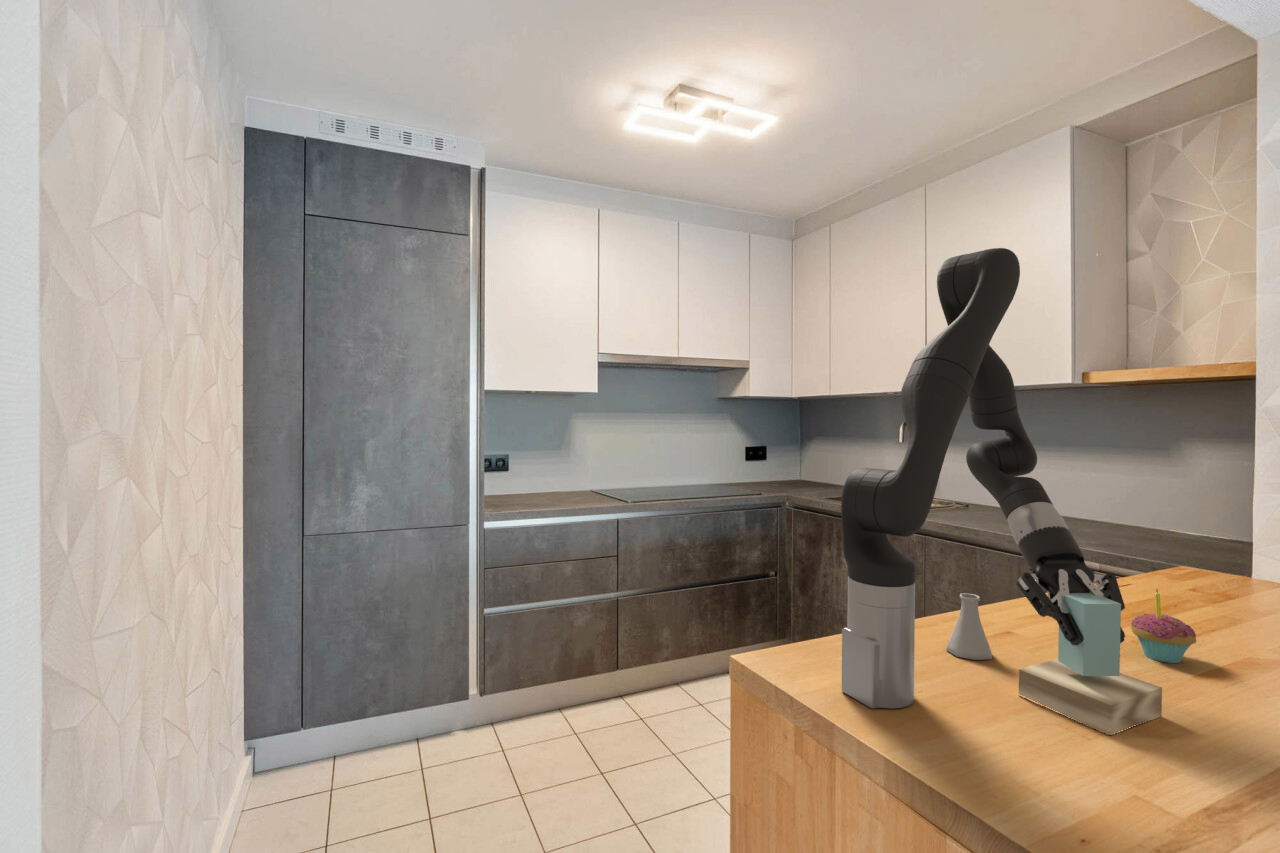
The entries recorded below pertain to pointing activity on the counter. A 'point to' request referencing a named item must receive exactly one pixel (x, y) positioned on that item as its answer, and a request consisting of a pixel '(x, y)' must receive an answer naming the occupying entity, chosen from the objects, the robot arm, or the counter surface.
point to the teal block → (1093, 636)
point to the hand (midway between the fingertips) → (1098, 642)
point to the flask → (969, 632)
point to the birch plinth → (1092, 696)
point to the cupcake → (1163, 635)
